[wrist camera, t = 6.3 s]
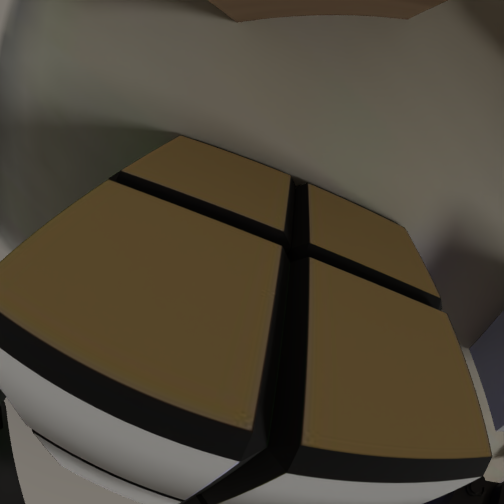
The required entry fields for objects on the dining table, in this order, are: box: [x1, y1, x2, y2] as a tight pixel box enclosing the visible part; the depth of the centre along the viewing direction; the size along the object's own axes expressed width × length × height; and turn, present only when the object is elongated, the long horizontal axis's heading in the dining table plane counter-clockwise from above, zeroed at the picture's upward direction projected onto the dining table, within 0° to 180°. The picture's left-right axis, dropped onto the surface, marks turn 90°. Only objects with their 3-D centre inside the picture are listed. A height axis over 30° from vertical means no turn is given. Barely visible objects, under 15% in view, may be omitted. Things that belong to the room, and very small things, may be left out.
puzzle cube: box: [0, 135, 492, 504], centre depth 10 cm, size 10×10×10 cm
